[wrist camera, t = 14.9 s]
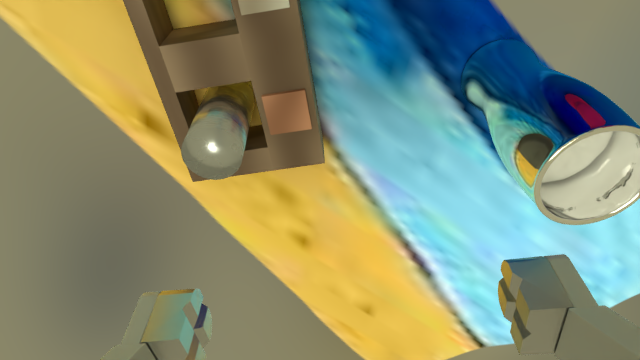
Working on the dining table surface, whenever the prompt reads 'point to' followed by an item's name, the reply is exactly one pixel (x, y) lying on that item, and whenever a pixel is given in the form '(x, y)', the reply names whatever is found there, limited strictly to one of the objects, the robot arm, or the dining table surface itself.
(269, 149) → the socket block
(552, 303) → the robot arm
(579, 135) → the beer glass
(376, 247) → the dining table surface
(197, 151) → the grey cylinder
